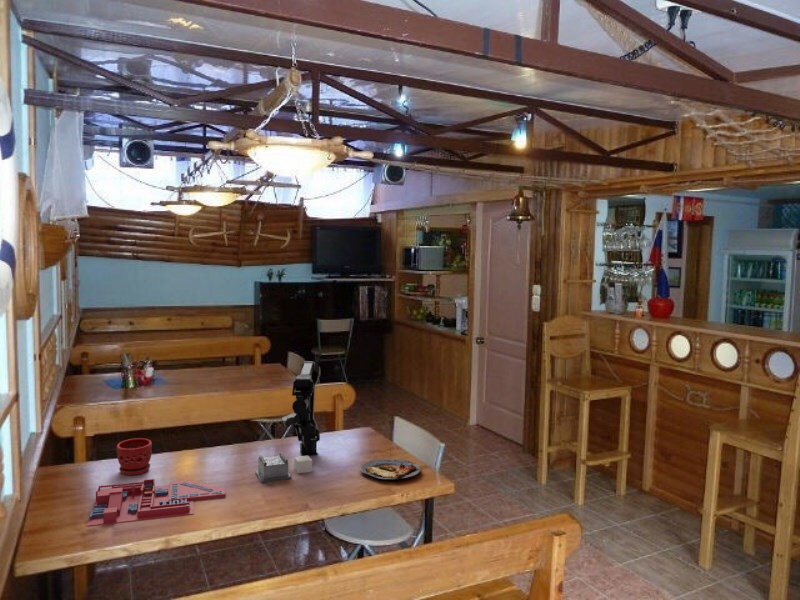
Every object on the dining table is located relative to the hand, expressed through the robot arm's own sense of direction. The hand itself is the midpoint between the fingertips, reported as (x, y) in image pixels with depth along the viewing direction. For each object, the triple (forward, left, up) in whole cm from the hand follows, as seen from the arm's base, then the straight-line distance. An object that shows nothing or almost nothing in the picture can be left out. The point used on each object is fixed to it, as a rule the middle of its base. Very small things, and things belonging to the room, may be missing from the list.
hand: (302, 444), depth 255 cm
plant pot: (+64, -23, -11) cm, 69 cm away
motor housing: (+13, +2, -11) cm, 17 cm away
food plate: (-33, +16, -11) cm, 39 cm away
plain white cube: (0, 0, -11) cm, 11 cm away
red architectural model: (+56, +12, -12) cm, 58 cm away
